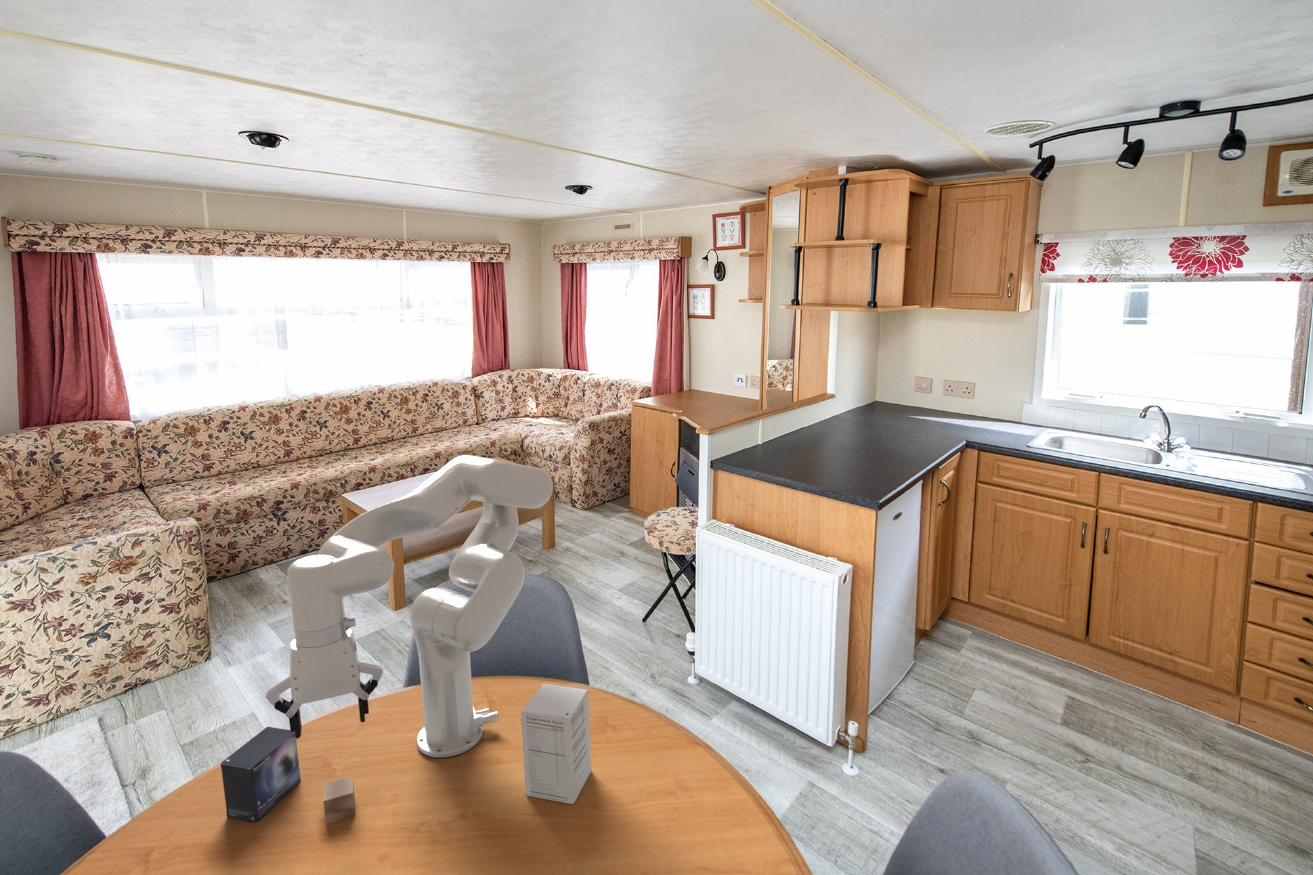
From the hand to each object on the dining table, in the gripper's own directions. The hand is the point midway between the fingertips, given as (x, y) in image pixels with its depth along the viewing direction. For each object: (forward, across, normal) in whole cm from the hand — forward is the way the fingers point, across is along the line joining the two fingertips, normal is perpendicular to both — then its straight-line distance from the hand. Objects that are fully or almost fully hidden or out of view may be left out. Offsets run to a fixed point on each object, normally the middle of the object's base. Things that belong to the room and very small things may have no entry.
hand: (331, 725), depth 109 cm
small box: (+17, +12, -9) cm, 22 cm away
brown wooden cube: (+16, 0, 0) cm, 16 cm away
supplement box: (+17, -36, +10) cm, 41 cm away
